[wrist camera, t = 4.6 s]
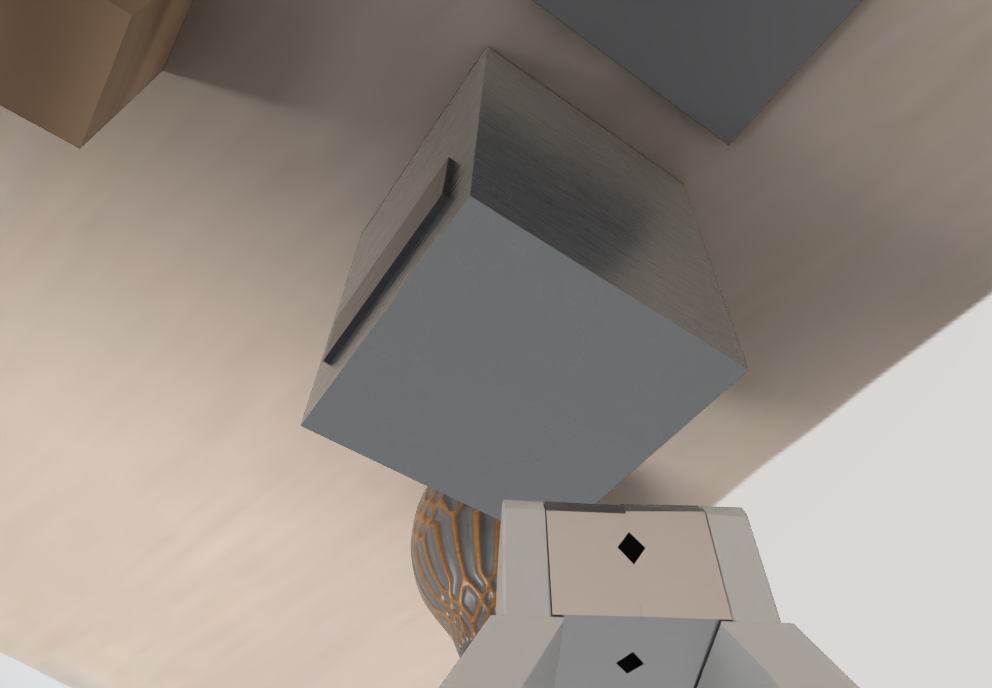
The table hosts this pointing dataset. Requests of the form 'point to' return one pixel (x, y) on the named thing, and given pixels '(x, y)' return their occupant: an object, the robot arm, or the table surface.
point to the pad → (707, 48)
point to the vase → (455, 564)
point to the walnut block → (82, 58)
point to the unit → (524, 307)
